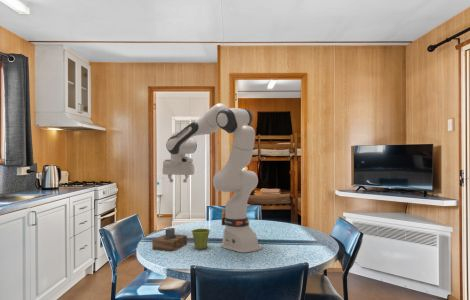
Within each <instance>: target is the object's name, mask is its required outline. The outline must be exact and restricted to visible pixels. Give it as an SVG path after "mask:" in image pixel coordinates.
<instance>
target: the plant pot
mask: <svg viewBox="0 0 470 300" xmlns="http://www.w3.org/2000/svg"><path fill="white" fill-rule="evenodd" d="M210 231H211V230H210V229H209V228H196V229H195V228H194V229H191V234H192V237H193V242H194V243H193V244H194V248H195V249H199V250H205V249H206V248H207V247H208V241H209V234H210Z"/></svg>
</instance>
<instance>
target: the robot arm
mask: <svg viewBox="0 0 470 300" xmlns="http://www.w3.org/2000/svg"><path fill="white" fill-rule="evenodd" d="M252 122H253V114H252V113H251V111H250V110H249V109H247V108H243V107H240V108H239V107H230V108H229V107H228V106H227V105H226V104H224V103H222V102H220V103H219V102H218V103H216V104H215V105H213V106H212V107H210V108H209V109H208V110H207V111H206V112H205V113H204V114H202V115H201V116H200V117H199V118H198V119H196V120H194V121H192V122H191V123H189V124H187V125H186V126H185V127H184V128H183V129H181V130H180V131H179V132H174V133H172V134H171V136H170V137H169V138H168V140H167V141H166V150H167V151H168V152H169V154H170V159H165V160H163V161H162V162H163V163H162V175H166V176H167V177H168V179H169V183H174V179H173V178H172V175H173V176H174V175H175V176H177V175H178V176H180V175H181V176H183V175H184V179H183V184H184V183H188V178H189V176H193V175H194V174H195V166H194V163H193V162H194V160H193V158H191V157H189V156H186V155H190V154H194V153H195V152H196V151H197V147H198V144H197V141H196V140H195V138H193V137H195V136H200V135H201V136H202V135H210V134H211V135H212V134H213V133H216V132H217V131H218V130H219V129H221V130H224V131H225V132H227V134H232V135H233V139H232V145H231V149H230V152H229V153H230V154H229V156H228V159H227V161H226V163H225V165H224V166H223V167H222V168H221V169H220V170H219V171H217V172H216V173H214V176H213V178H212V184H213V187H214V189H215V190H216V191H217V192H224V193H228V192H229V193H230V192H233V195H232V197H231V198H228V200H227V201H226V203H225V207H226V217H225V225H224V226H225V227H224V229H223V234H222V243H221V244H220V248H222V249H223V248H224V249H227V250H231V251H234V252H238V253H250V252H251V253H252V252H256V251H259V250H262V249H263V245H261V244H260V243H258V235H257V233H256V232H254V230H253V229H252V228H251V227H250V223H251V222H250V220H249V219H248V215H247V213H248V209H247V208H248V201H249V198H250V195H251V193H252V192H253V190H255V189H256V188H257V186H258V183H259V178H258V177H259V176H258V175H257V173H256V172H255V171H252V170H248V169H244V168H246V167H247V166H248V165H250V163H251V161H252V157H253V152H254V148H255V143H256V142H255V140H256V131H255V129H254V127H252V126H250V125H251V124H252Z"/></svg>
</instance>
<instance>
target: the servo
mask: <svg viewBox="0 0 470 300" xmlns="http://www.w3.org/2000/svg"><path fill="white" fill-rule="evenodd" d="M175 230H176V228H174V227H169V226H168V227H167V228H165V235H166V237H165V238H164V239H172V238H175V236H176V235H177V234H176V232H175ZM175 234H176V235H175Z"/></svg>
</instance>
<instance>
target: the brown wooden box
mask: <svg viewBox="0 0 470 300" xmlns="http://www.w3.org/2000/svg"><path fill="white" fill-rule="evenodd" d="M175 235H176V236H175V238H172V239H164V238H165V237H166V234H164V235H161V236H159V237H156V238H154V239H152V248H151V249H152V250H156V251H165V252H175V251H177V250H179V249H180V248H183V247H184V246H186V245H188V236H187V235H186V234H177V233H175Z"/></svg>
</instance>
